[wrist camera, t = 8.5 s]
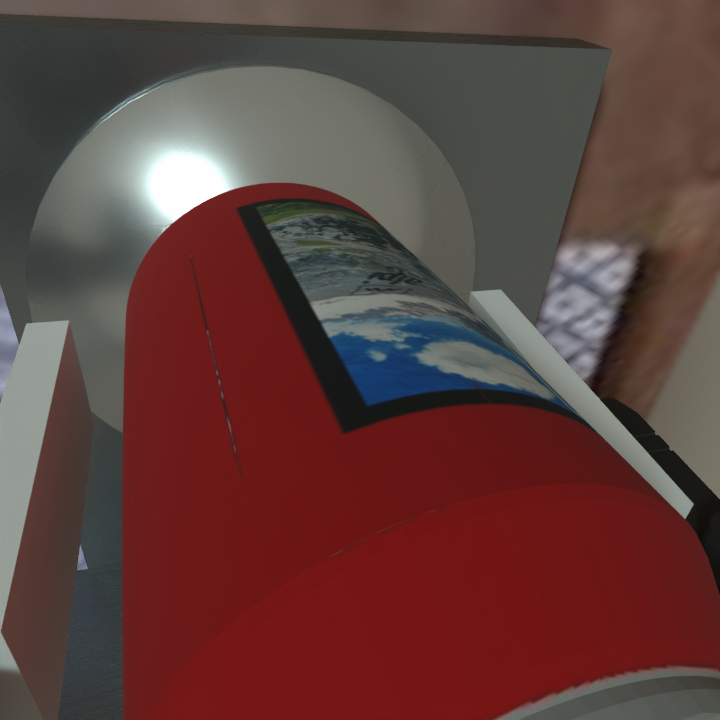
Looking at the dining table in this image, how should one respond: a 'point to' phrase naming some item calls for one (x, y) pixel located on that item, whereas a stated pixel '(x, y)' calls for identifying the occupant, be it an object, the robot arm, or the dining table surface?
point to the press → (256, 166)
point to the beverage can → (377, 498)
